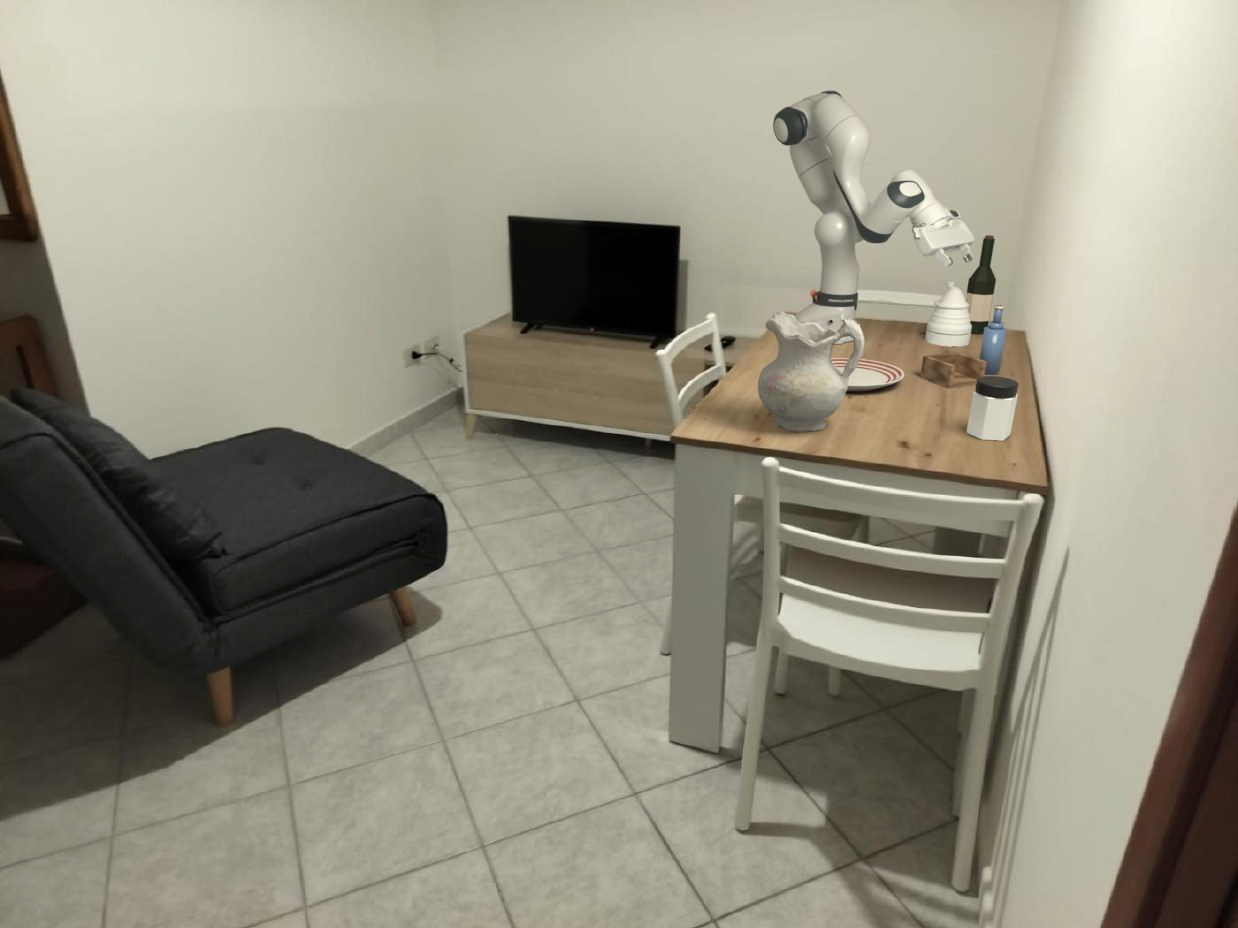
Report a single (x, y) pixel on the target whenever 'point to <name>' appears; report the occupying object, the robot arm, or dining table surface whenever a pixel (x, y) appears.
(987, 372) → the bottle
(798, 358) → the ceramic pitcher
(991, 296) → the wine bottle
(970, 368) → the holder
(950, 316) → the honey pot
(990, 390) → the jar
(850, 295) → the robot arm
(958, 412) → the dining table surface
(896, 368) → the dinner plate
